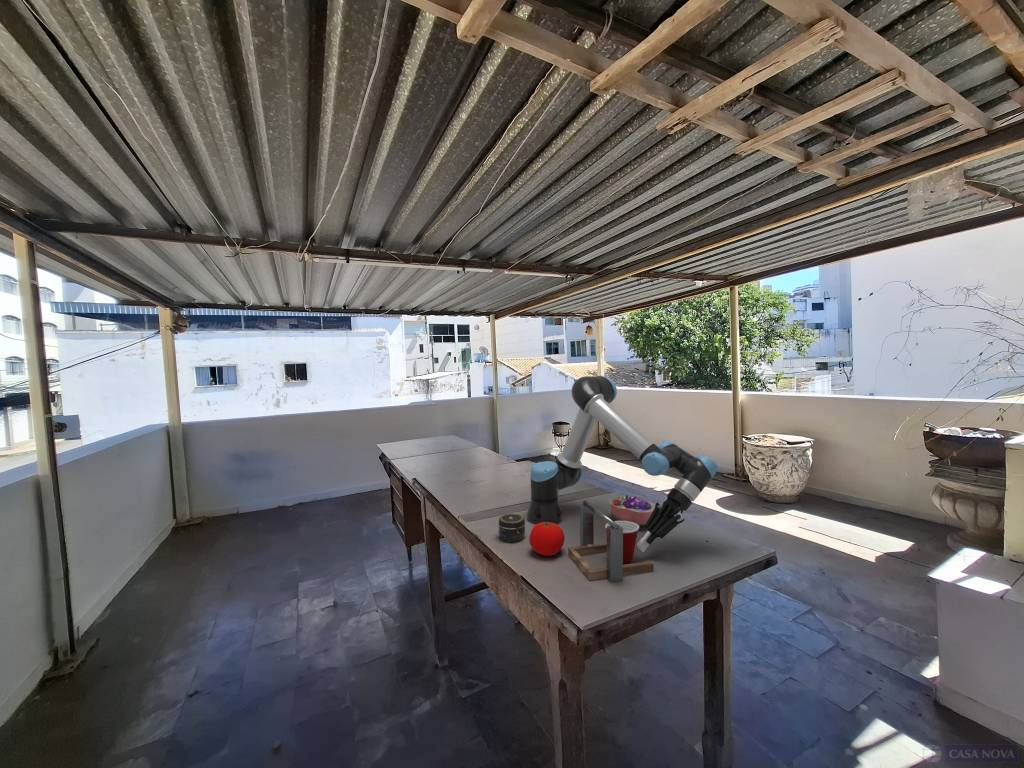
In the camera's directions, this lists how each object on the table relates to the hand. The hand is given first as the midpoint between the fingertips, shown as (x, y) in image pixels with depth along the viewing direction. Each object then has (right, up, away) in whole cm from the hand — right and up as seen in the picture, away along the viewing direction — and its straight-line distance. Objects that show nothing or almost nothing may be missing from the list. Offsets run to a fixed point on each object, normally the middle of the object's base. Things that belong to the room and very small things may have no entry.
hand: (639, 549), depth 129 cm
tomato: (-30, -4, +6) cm, 31 cm away
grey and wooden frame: (-11, -4, -2) cm, 11 cm away
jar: (-42, -4, +18) cm, 46 cm away
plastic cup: (-6, -4, -1) cm, 7 cm away
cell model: (+7, -3, +31) cm, 32 cm away
